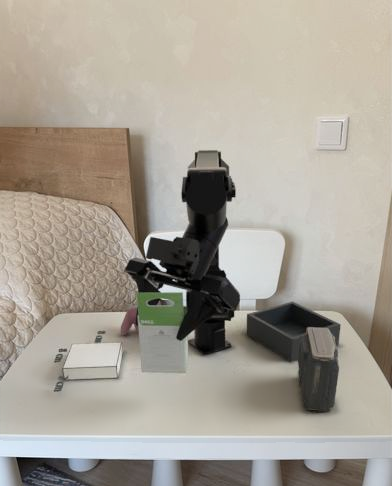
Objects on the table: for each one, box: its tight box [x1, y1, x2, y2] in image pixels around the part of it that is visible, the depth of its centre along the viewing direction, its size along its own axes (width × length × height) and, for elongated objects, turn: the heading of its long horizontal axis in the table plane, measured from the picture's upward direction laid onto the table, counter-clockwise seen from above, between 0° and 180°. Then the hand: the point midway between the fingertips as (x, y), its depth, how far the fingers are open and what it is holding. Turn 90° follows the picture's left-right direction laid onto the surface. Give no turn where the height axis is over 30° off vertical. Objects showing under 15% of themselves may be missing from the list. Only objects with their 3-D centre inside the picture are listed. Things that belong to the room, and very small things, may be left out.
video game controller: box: [120, 304, 139, 336], centre depth 107 cm, size 10×5×7 cm, turn 71°
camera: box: [297, 327, 340, 412], centre depth 84 cm, size 11×6×10 cm, turn 172°
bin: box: [246, 301, 341, 363], centre depth 103 cm, size 14×12×5 cm
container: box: [53, 330, 124, 393], centre depth 95 cm, size 20×12×3 cm, turn 2°
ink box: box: [135, 291, 189, 374], centre depth 78 cm, size 7×4×13 cm, turn 84°
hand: (157, 332), depth 77 cm, fingers closed on ink box, 8 cm apart
